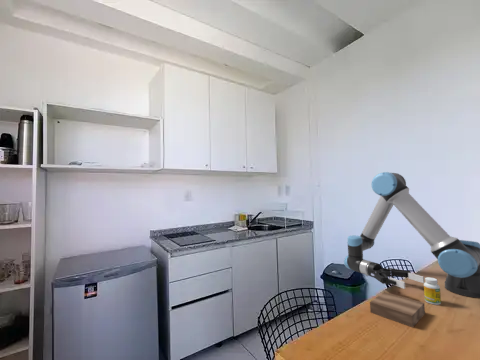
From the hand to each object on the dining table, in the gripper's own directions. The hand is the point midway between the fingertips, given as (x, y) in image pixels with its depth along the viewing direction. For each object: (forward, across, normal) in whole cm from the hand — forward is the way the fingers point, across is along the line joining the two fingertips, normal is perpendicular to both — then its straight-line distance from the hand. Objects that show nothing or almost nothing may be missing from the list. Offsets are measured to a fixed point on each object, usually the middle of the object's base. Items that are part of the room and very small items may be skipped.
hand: (414, 282), depth 107 cm
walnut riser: (+6, +21, -6) cm, 23 cm away
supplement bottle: (+7, 0, -6) cm, 9 cm away
